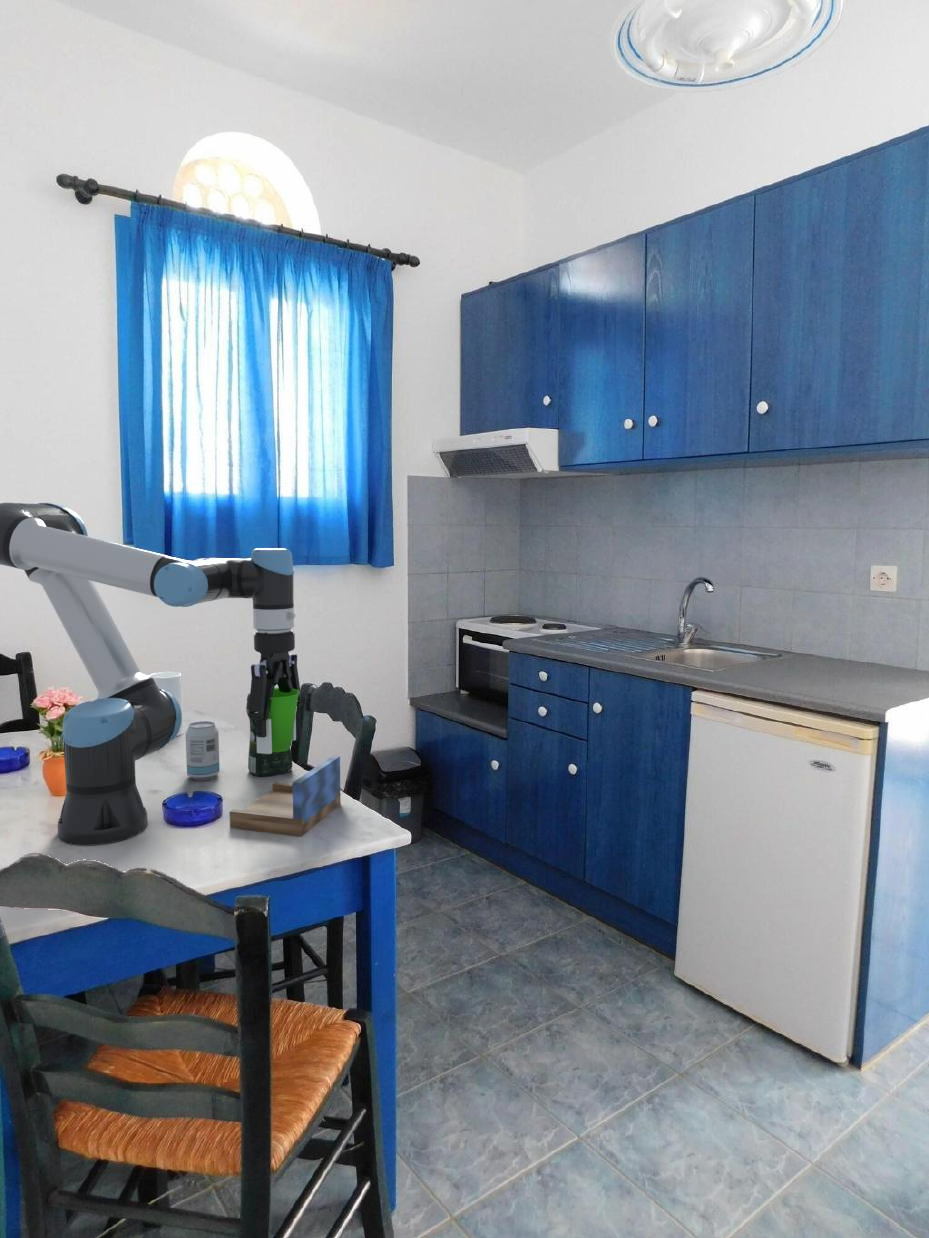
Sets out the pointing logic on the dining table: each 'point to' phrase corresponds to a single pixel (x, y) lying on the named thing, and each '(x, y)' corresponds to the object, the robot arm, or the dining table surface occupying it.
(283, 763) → the coffee jar
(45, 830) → the dining table surface
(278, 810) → the wooden display stand
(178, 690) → the cup
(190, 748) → the beverage can
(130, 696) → the robot arm
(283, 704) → the cup
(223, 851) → the dining table surface
